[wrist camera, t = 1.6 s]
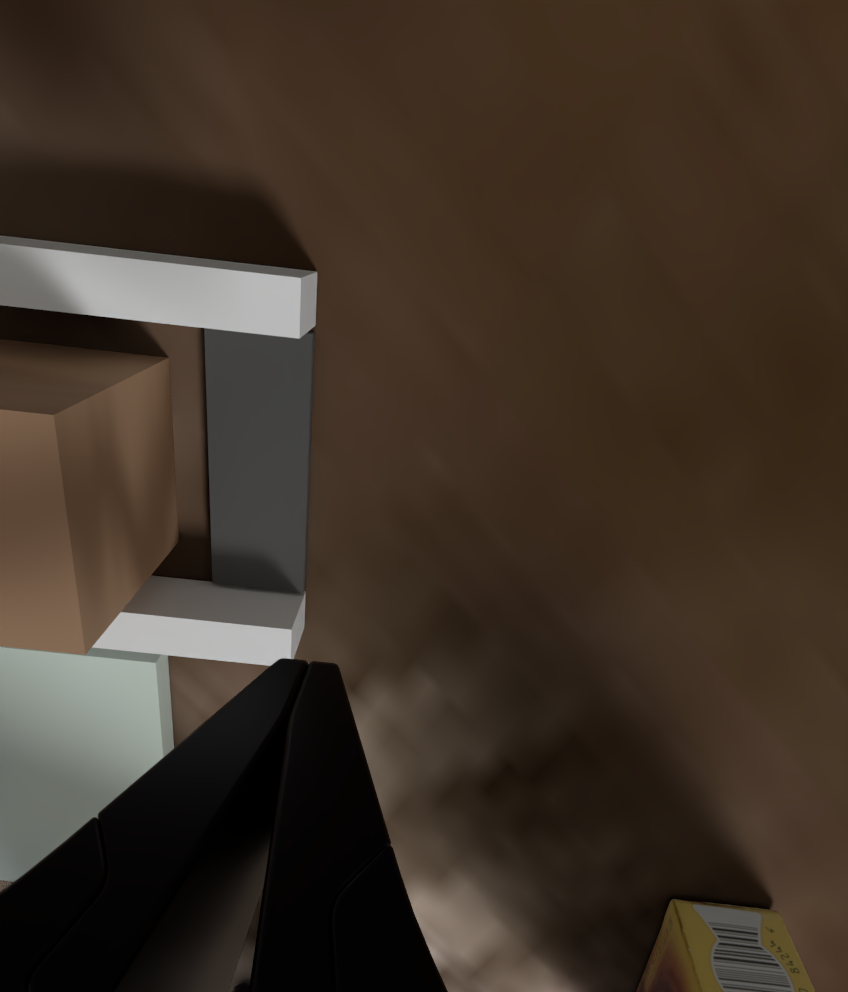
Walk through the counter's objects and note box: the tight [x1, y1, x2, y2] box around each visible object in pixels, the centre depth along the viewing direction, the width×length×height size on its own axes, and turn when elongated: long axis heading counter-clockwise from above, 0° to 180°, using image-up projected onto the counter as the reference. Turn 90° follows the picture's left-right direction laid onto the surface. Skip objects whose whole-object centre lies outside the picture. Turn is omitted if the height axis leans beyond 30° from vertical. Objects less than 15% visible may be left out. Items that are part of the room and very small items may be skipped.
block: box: [0, 339, 179, 655], centre depth 14 cm, size 5×5×5 cm
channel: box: [0, 235, 317, 666], centre depth 15 cm, size 10×14×2 cm
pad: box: [0, 646, 174, 882], centre depth 20 cm, size 10×10×1 cm
